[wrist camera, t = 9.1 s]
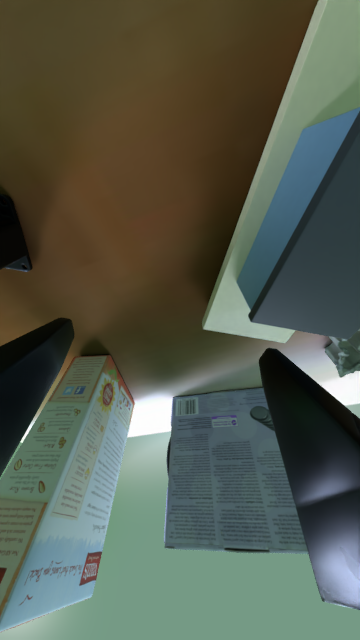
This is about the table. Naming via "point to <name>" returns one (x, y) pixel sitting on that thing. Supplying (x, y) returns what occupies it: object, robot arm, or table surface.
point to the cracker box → (62, 493)
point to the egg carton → (345, 353)
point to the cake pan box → (228, 478)
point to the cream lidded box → (290, 149)
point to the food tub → (311, 237)
